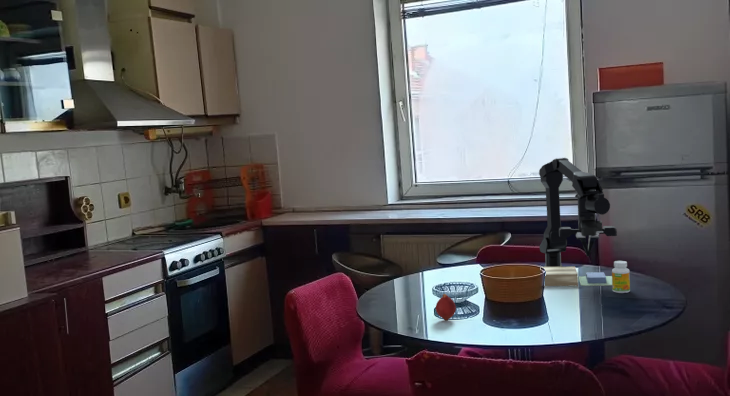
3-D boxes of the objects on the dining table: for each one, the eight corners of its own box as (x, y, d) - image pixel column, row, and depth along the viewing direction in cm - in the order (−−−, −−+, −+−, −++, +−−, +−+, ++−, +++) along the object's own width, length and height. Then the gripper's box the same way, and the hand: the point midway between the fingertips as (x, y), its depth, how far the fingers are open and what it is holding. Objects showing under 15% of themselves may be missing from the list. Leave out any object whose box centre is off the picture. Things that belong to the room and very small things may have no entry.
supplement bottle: (612, 293, 225) (612, 263, 224) (612, 289, 230) (611, 260, 229) (630, 293, 223) (629, 263, 222) (629, 289, 228) (628, 260, 227)
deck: (540, 277, 253) (540, 266, 252) (575, 277, 250) (574, 266, 250) (541, 286, 240) (541, 274, 240) (577, 285, 237) (577, 274, 237)
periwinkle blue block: (603, 272, 245) (603, 277, 245) (585, 272, 246) (586, 278, 247) (606, 277, 237) (606, 283, 237) (587, 277, 239) (587, 283, 239)
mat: (578, 277, 250) (578, 276, 250) (613, 276, 247) (613, 276, 247) (580, 285, 237) (580, 284, 237) (618, 285, 234) (618, 284, 234)
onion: (443, 316, 210) (442, 290, 209) (460, 318, 206) (458, 292, 206) (432, 321, 206) (431, 294, 205) (449, 323, 202) (448, 296, 201)
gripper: (559, 215, 234) (561, 261, 236) (618, 213, 230) (619, 260, 232) (558, 211, 245) (559, 255, 247) (614, 209, 241) (615, 254, 242)
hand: (588, 256), depth 242 cm, fingers closed
